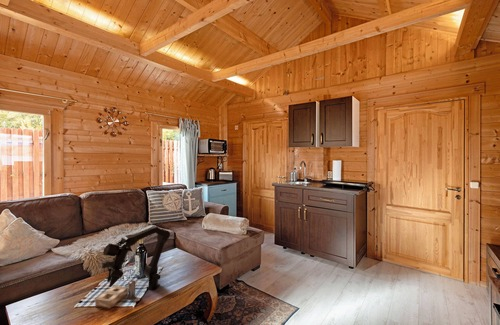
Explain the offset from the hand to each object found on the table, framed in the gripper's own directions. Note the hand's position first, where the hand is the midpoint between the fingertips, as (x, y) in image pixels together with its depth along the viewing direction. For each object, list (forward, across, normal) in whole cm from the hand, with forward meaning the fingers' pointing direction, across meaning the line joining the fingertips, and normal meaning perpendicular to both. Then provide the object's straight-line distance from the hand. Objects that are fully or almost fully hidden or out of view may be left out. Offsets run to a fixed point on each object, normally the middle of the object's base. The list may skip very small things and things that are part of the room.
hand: (108, 284), depth 144 cm
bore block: (+11, -8, +8) cm, 15 cm away
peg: (+7, -4, +17) cm, 19 cm away
